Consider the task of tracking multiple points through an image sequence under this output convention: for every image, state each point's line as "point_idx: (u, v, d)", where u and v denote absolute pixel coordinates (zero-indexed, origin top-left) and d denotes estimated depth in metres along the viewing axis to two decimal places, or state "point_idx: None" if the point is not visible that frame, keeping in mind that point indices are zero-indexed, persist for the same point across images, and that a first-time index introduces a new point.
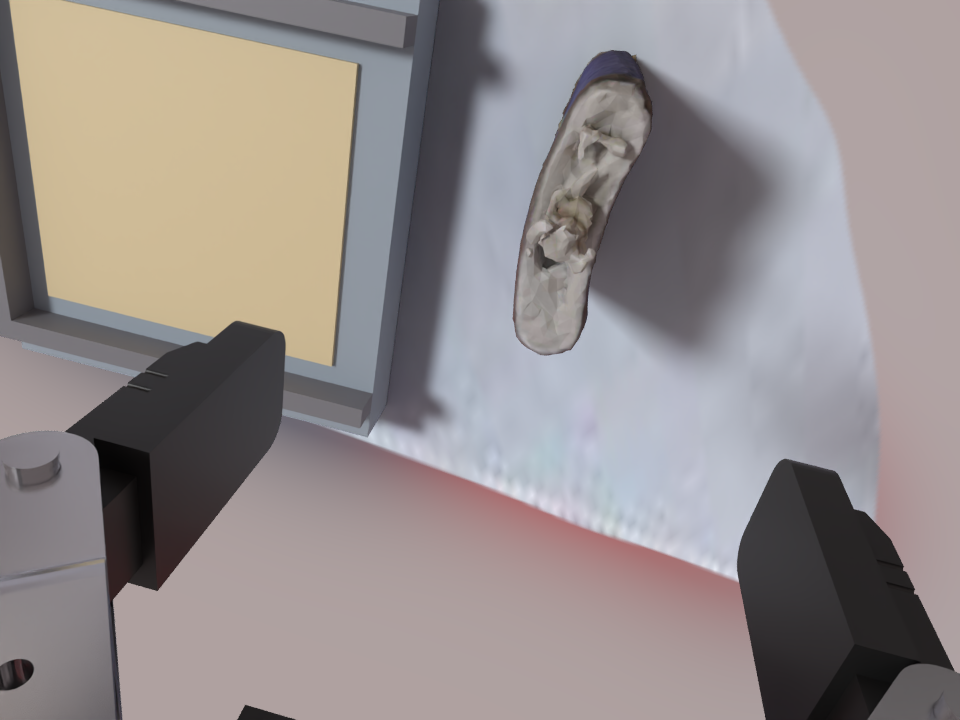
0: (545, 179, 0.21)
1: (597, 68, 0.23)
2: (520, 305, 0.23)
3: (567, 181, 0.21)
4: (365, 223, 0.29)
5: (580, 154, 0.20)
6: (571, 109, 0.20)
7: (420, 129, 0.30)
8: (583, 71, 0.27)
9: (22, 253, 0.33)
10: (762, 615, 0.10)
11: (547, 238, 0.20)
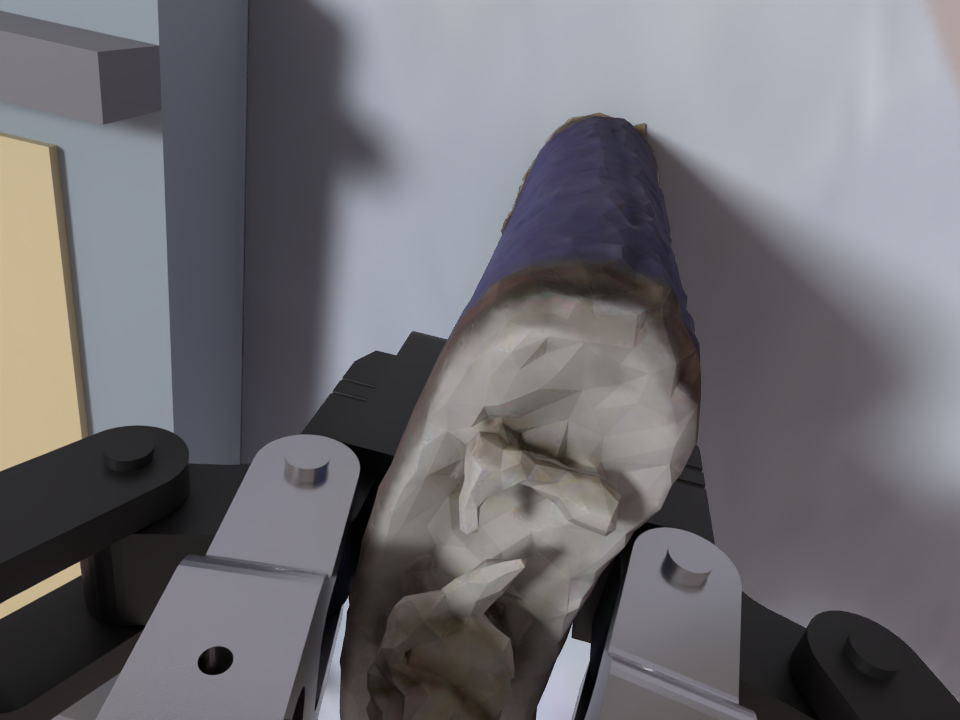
0: (379, 540, 0.07)
1: (547, 188, 0.09)
2: None
3: (442, 550, 0.07)
4: None
5: (468, 521, 0.06)
6: (440, 367, 0.06)
7: (236, 253, 0.16)
8: (537, 156, 0.13)
9: None
10: None
11: None
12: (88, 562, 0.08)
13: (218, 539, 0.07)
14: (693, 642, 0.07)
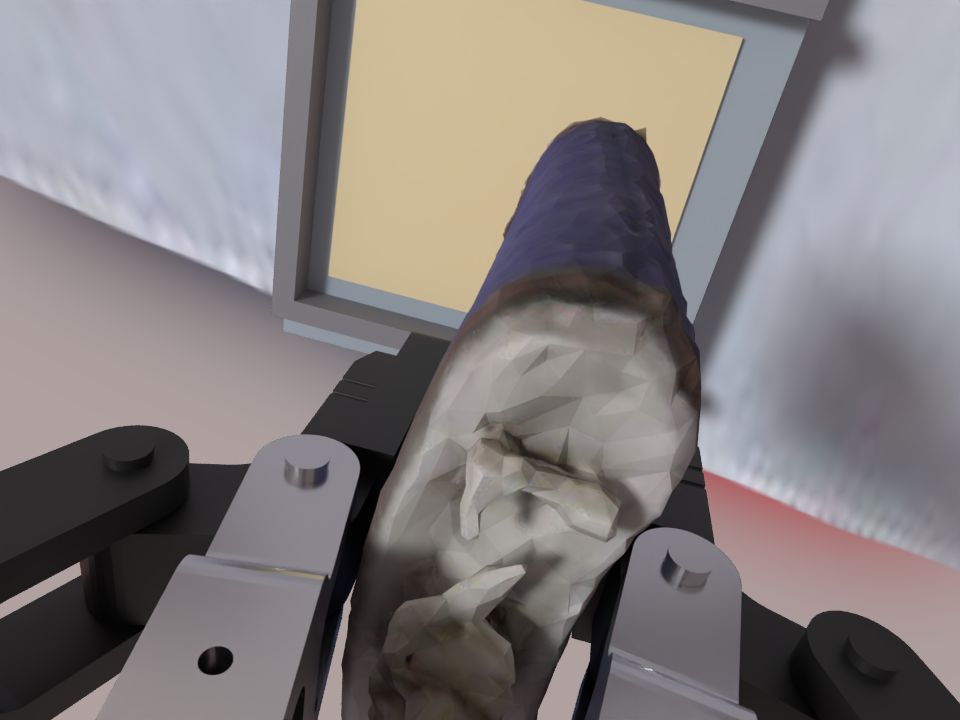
0: (381, 545, 0.07)
1: (548, 194, 0.09)
2: None
3: (444, 555, 0.07)
4: (706, 207, 0.28)
5: (468, 528, 0.06)
6: (442, 374, 0.06)
7: None
8: (538, 161, 0.13)
9: (310, 230, 0.31)
10: None
11: None
12: (88, 562, 0.08)
13: (216, 539, 0.07)
14: (693, 642, 0.07)
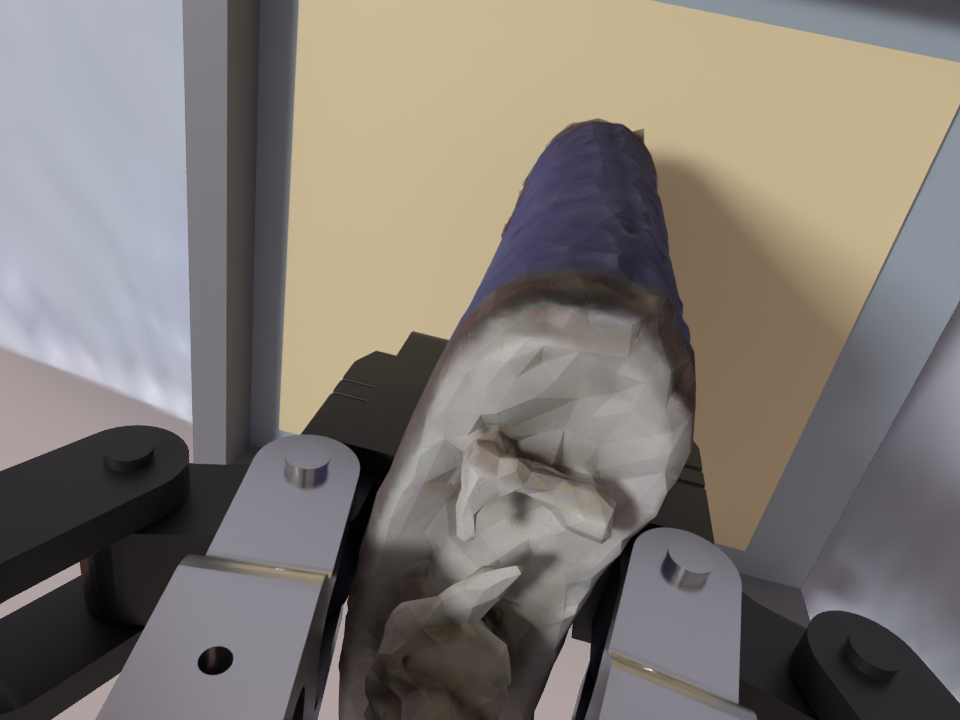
0: (377, 547, 0.07)
1: (545, 195, 0.09)
2: None
3: (440, 555, 0.07)
4: (882, 340, 0.17)
5: (465, 528, 0.06)
6: (437, 375, 0.06)
7: None
8: None
9: (247, 367, 0.20)
10: None
11: None
12: (87, 562, 0.08)
13: (218, 538, 0.07)
14: (693, 641, 0.07)
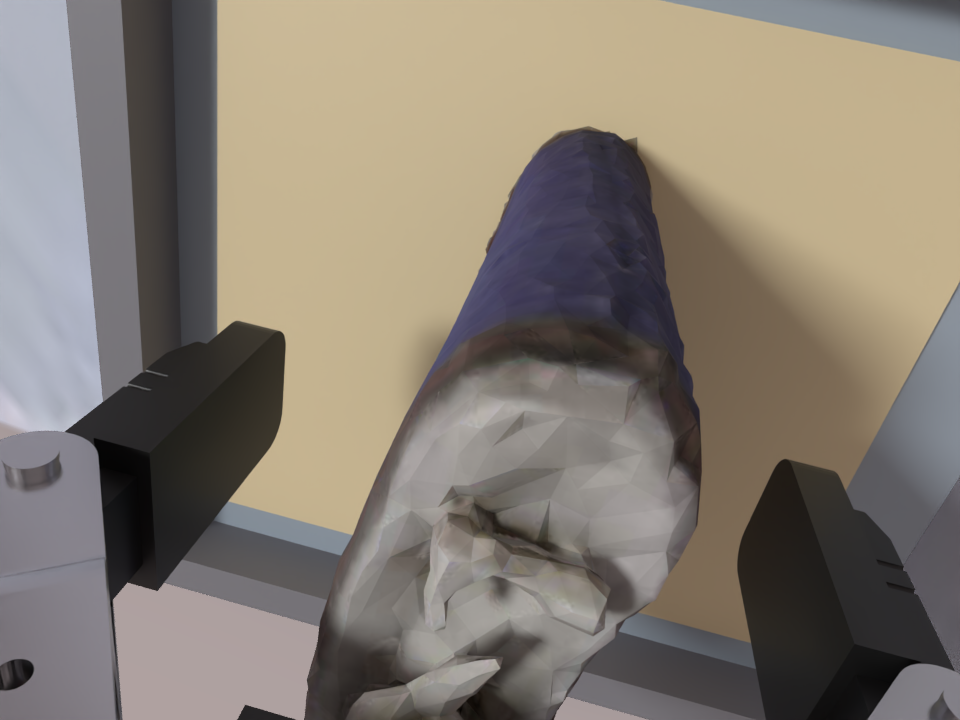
0: (338, 623, 0.06)
1: (530, 217, 0.08)
2: None
3: (410, 634, 0.06)
4: (931, 412, 0.14)
5: (434, 615, 0.05)
6: (403, 437, 0.06)
7: None
8: (522, 173, 0.13)
9: None
10: (762, 615, 0.10)
11: None
12: None
13: None
14: None
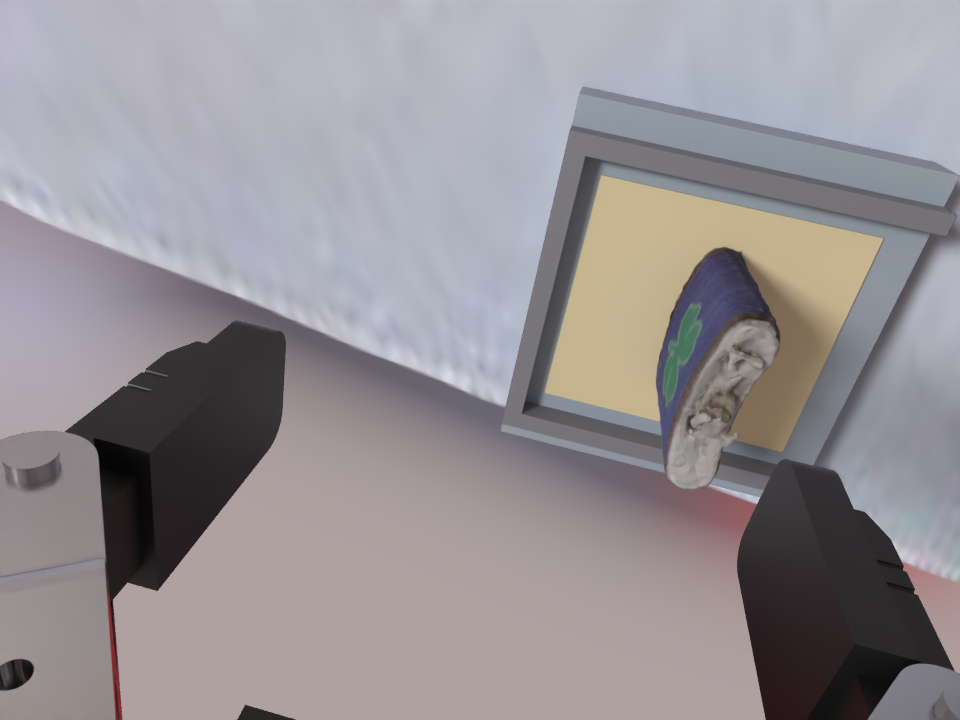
0: (699, 377, 0.30)
1: (729, 286, 0.32)
2: (672, 456, 0.32)
3: (715, 379, 0.30)
4: (847, 348, 0.38)
5: (730, 367, 0.29)
6: (722, 334, 0.29)
7: None
8: (702, 262, 0.36)
9: (534, 361, 0.41)
10: (762, 615, 0.10)
11: (705, 423, 0.29)
12: None
13: None
14: None
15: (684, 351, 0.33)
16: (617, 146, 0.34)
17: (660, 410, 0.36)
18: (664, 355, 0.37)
